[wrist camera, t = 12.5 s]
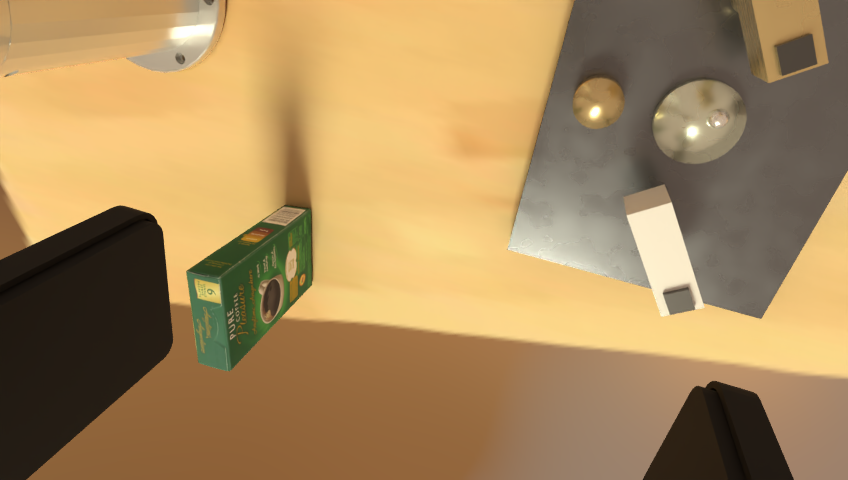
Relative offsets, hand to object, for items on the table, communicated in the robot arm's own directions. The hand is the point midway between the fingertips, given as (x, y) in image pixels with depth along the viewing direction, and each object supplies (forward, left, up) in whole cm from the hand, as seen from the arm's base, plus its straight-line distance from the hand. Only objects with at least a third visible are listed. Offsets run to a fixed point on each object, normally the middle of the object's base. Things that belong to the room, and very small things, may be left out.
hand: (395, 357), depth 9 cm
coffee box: (-17, -18, -31) cm, 39 cm away
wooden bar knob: (+10, +7, -28) cm, 31 cm away
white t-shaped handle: (+10, -7, -28) cm, 31 cm away
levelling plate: (+10, 0, -30) cm, 32 cm away
